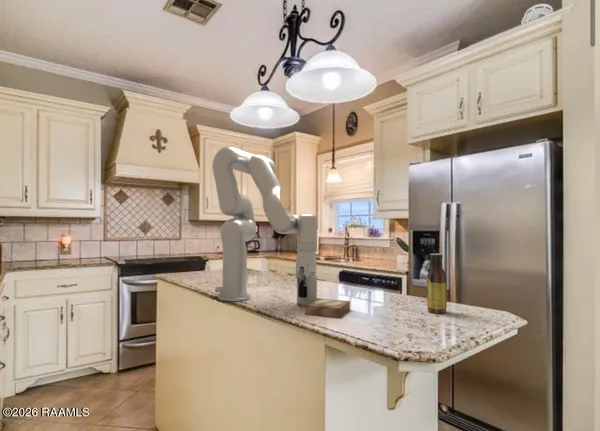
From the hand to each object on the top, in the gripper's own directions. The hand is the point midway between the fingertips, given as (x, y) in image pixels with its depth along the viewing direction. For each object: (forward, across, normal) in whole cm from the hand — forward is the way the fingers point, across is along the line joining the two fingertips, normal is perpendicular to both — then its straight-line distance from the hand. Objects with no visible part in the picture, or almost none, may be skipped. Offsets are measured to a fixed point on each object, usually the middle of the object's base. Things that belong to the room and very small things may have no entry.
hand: (306, 294), depth 137 cm
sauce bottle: (+4, -7, +45) cm, 46 cm away
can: (+4, 0, 0) cm, 4 cm away
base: (+3, +8, +11) cm, 14 cm away
